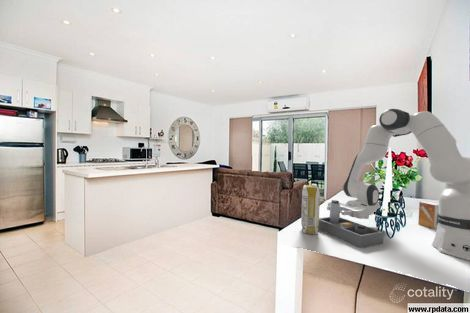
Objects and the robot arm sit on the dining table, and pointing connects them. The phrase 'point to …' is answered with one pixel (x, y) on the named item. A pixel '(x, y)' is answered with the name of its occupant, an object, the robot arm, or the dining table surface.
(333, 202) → the grey plug
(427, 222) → the small box
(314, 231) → the juice carton
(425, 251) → the dining table surface
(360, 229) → the twin plug
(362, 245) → the grey compartment tray
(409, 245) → the dining table surface
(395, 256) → the dining table surface
